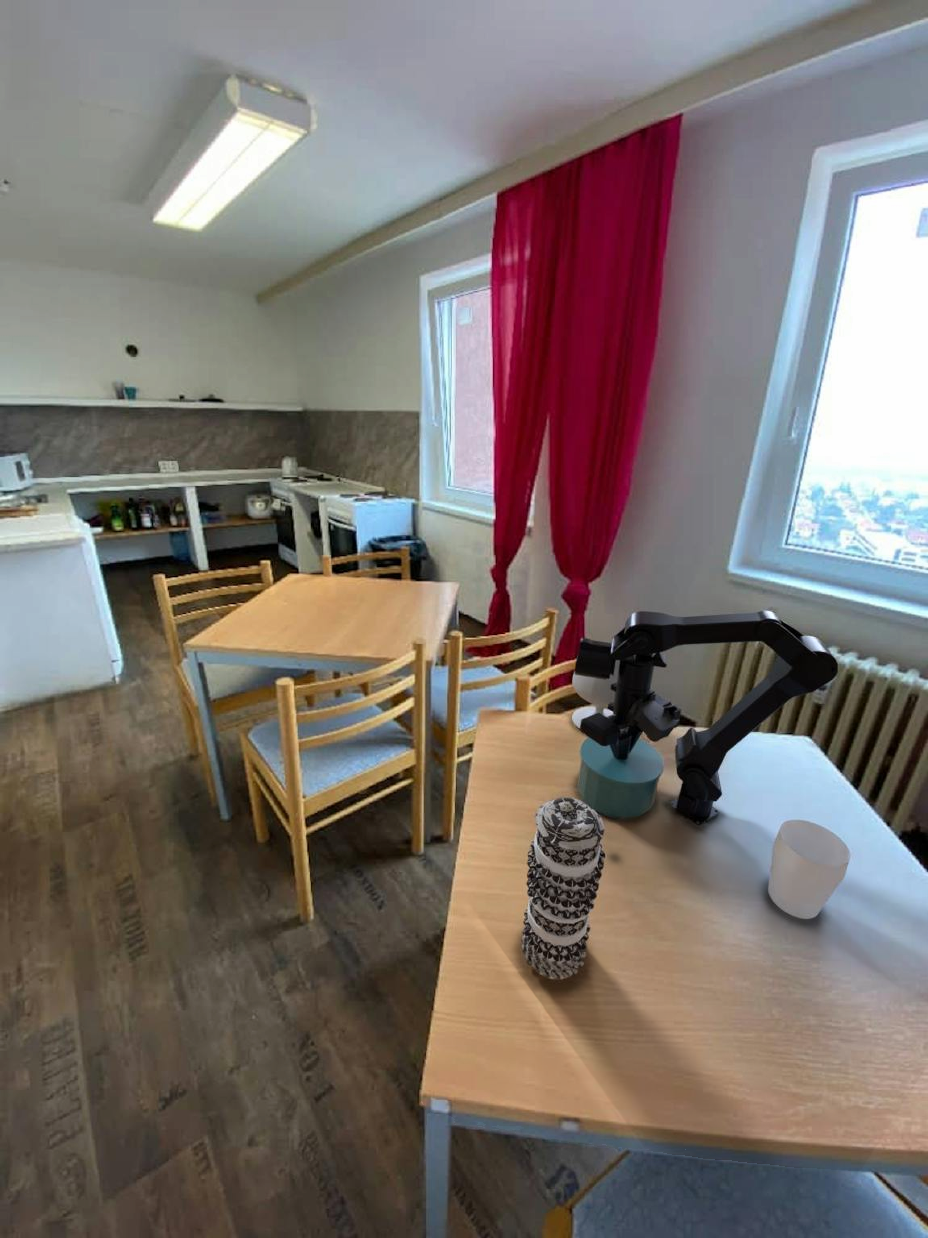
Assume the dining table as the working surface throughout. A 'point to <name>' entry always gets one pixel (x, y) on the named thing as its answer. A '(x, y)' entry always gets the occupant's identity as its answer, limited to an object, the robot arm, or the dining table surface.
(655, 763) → the bin lid
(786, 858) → the cup
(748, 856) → the dining table surface
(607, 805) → the bin
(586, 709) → the chalice
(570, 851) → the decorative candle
